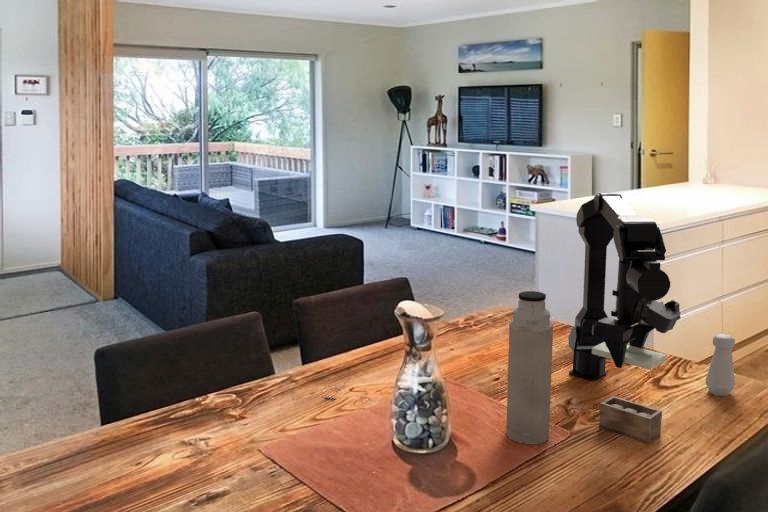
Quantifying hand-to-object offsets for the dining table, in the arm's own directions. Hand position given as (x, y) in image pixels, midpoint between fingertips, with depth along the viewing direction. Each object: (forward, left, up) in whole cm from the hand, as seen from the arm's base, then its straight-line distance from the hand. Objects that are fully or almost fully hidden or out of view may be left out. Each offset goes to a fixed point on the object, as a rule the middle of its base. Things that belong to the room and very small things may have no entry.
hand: (627, 362), depth 135 cm
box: (+3, -3, -13) cm, 13 cm away
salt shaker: (+8, +28, -13) cm, 32 cm away
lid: (0, 0, +1) cm, 1 cm away
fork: (-53, -29, -13) cm, 62 cm away
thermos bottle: (-10, -18, -13) cm, 24 cm away
